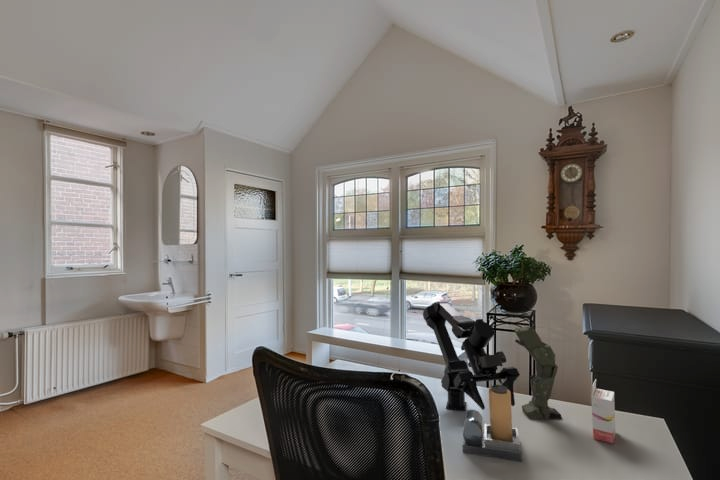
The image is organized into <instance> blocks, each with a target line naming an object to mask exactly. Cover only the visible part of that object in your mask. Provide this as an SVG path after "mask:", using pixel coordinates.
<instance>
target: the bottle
mask: <svg viewBox="0 0 720 480" xmlns="http://www.w3.org/2000/svg"><path fill="white" fill-rule="evenodd" d="M488 397H489V398H488V402H489V403H488V404H489V425H490V433H491V439H494V440H501V441H508V442H513V438H512V428H513V421H512V419H513V418H512V417H513V416H512V405H511V392H510V391H509V390H508V389H507V387H506V386H503V385H502V384H493V385H491V387H490V388H489V389H488Z"/></svg>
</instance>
